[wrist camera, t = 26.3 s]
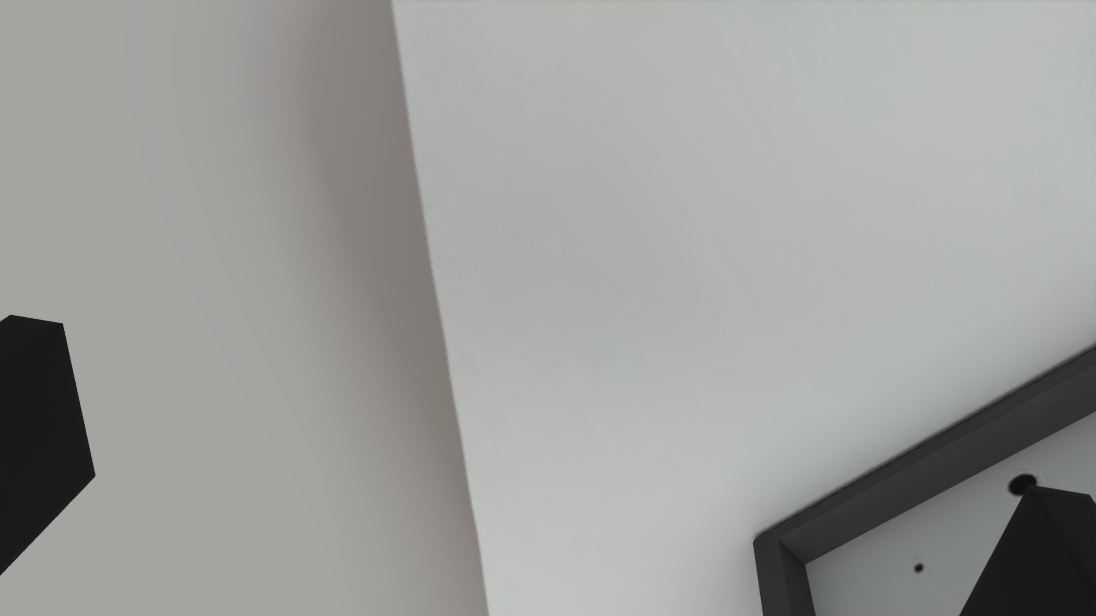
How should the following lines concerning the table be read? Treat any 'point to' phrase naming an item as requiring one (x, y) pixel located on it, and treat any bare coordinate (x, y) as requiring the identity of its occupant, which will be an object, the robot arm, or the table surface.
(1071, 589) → the robot arm
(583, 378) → the table surface
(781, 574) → the clock
